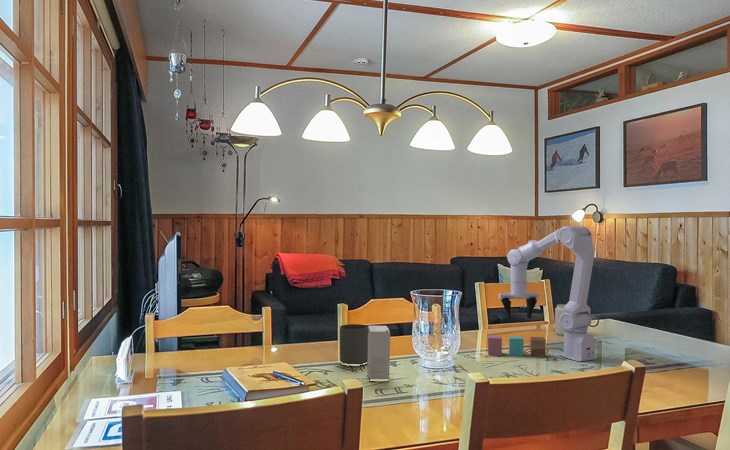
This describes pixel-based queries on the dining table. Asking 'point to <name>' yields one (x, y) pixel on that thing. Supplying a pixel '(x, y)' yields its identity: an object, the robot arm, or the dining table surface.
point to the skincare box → (378, 352)
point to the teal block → (516, 346)
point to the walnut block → (538, 347)
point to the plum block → (494, 345)
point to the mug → (354, 344)
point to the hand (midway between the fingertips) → (518, 318)
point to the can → (558, 313)
